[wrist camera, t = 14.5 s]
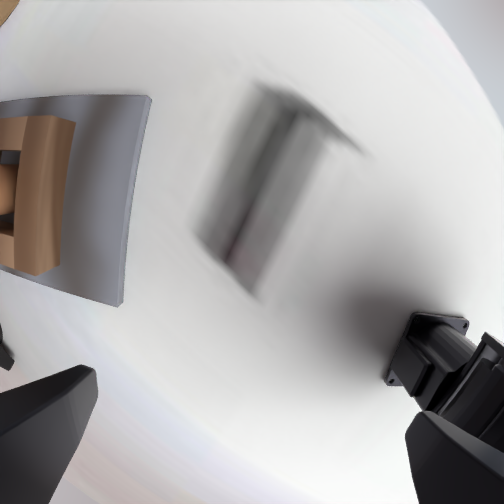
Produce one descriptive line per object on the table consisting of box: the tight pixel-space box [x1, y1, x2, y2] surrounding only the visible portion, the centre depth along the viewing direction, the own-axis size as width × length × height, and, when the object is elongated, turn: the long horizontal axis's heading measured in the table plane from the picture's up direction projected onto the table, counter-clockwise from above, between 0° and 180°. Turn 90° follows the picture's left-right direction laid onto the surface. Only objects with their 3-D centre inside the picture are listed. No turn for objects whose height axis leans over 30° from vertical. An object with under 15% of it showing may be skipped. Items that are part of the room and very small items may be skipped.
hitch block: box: [0, 95, 152, 307], centre depth 16 cm, size 20×14×4 cm
